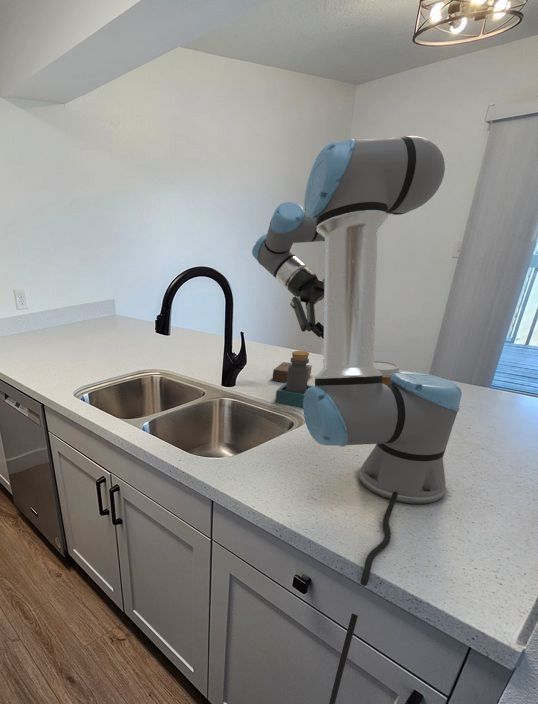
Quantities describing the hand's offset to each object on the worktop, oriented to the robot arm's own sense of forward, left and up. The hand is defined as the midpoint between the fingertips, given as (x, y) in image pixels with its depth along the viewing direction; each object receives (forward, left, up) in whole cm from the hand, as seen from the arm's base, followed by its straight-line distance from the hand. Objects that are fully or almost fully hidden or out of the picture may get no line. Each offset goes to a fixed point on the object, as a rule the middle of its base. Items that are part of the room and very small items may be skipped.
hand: (352, 328), depth 116 cm
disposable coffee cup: (+9, -8, -24) cm, 26 cm away
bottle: (+1, +13, -24) cm, 27 cm away
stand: (+21, +20, -23) cm, 37 cm away
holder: (+1, +13, -23) cm, 27 cm away
